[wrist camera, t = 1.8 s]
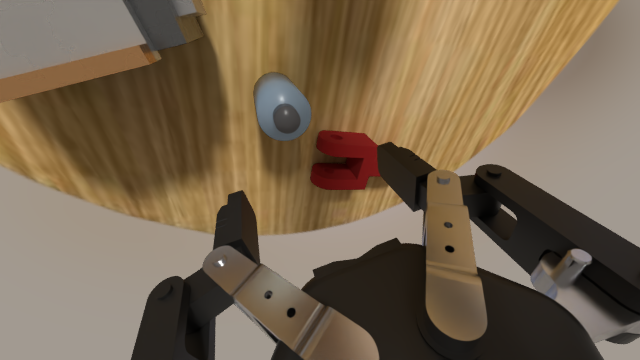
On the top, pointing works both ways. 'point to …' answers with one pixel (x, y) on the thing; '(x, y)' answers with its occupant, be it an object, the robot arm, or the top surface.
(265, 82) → the blue-gray bottle
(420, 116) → the top surface
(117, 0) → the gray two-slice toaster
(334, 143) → the mechanical linkage
